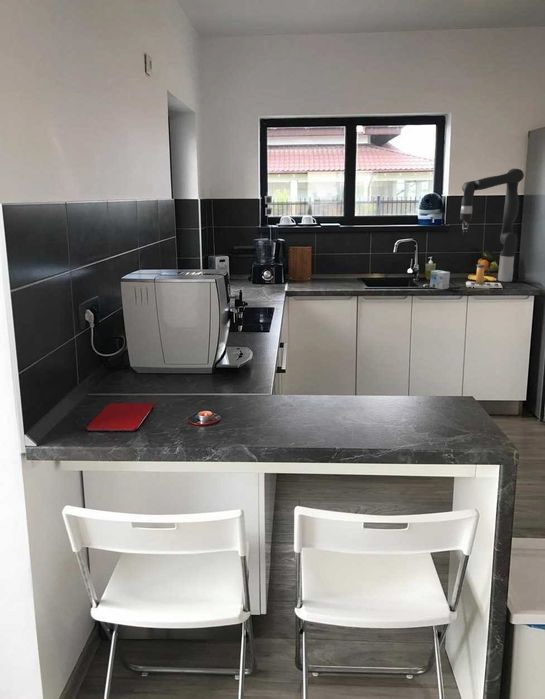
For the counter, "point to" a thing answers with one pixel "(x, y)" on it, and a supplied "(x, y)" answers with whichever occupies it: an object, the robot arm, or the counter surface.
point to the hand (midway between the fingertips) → (464, 236)
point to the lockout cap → (480, 273)
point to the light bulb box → (439, 279)
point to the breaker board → (483, 285)
